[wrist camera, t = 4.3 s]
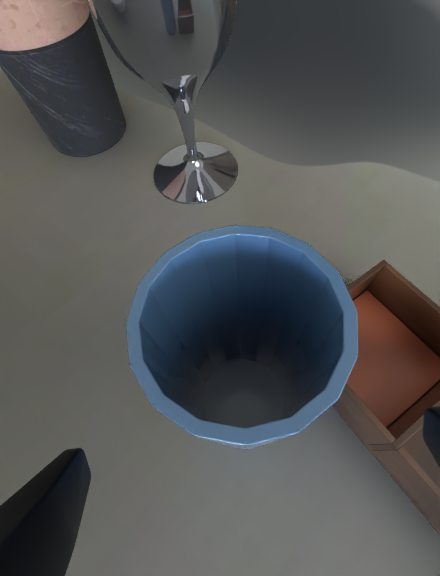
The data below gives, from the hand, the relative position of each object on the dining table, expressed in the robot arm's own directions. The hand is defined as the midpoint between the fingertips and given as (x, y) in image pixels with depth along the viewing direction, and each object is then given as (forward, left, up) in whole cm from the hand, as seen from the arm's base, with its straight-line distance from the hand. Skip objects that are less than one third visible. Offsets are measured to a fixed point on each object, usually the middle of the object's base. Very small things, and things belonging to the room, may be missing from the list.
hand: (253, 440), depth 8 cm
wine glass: (+19, -9, -10) cm, 23 cm away
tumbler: (+2, -1, -10) cm, 10 cm away
